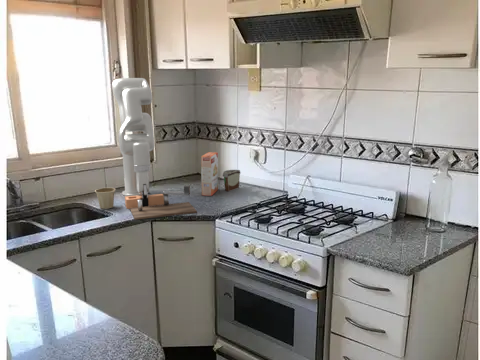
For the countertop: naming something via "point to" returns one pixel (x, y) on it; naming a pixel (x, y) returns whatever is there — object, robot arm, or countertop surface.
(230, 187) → the food container
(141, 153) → the robot arm
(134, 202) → the link
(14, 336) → the countertop surface
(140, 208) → the hardware
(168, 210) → the board
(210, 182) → the cracker box
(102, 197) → the flower pot
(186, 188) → the keeper
